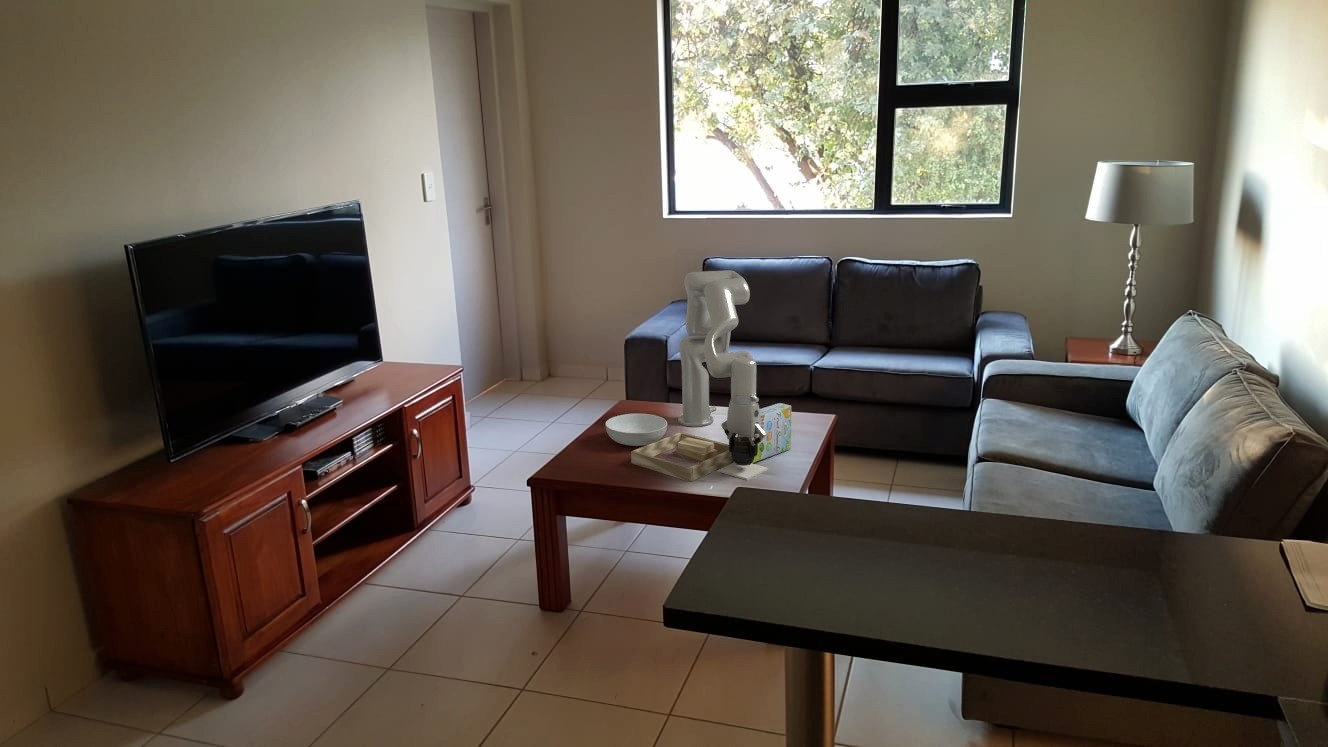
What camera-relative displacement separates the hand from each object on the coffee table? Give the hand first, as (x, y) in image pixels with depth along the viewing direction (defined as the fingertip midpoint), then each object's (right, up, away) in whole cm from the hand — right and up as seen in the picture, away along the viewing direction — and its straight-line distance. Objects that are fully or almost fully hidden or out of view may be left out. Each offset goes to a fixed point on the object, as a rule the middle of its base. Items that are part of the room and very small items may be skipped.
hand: (743, 453), depth 277 cm
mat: (0, -5, +1) cm, 6 cm away
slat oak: (-14, -1, +13) cm, 19 cm away
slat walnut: (-14, -3, +14) cm, 20 cm away
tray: (-17, -3, +10) cm, 20 cm away
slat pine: (-14, +1, +13) cm, 19 cm away
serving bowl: (-34, +1, +29) cm, 44 cm away
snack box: (+8, -2, +13) cm, 16 cm away
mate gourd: (0, -3, +1) cm, 3 cm away
